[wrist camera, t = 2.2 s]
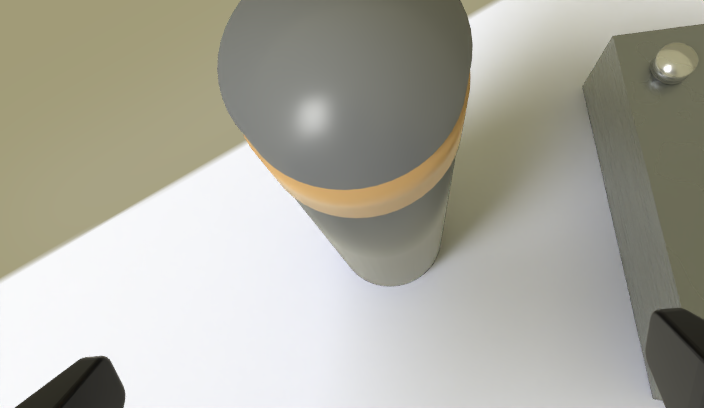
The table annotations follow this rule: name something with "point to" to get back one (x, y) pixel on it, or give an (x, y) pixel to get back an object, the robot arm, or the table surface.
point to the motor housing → (654, 165)
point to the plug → (355, 117)
